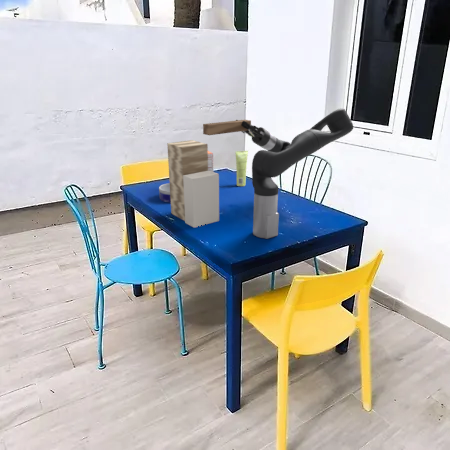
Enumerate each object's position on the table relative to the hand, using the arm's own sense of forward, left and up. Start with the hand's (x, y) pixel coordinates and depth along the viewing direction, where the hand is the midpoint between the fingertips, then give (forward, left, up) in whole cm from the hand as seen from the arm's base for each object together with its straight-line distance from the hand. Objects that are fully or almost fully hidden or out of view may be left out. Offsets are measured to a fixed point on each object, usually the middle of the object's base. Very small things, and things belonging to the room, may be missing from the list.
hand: (239, 122), depth 166 cm
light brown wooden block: (0, +6, -3) cm, 7 cm away
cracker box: (+40, -8, -40) cm, 57 cm away
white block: (0, +20, -40) cm, 45 cm away
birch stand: (+11, +20, -40) cm, 46 cm away
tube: (+32, -28, -40) cm, 59 cm away
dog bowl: (+36, +13, -41) cm, 56 cm away
